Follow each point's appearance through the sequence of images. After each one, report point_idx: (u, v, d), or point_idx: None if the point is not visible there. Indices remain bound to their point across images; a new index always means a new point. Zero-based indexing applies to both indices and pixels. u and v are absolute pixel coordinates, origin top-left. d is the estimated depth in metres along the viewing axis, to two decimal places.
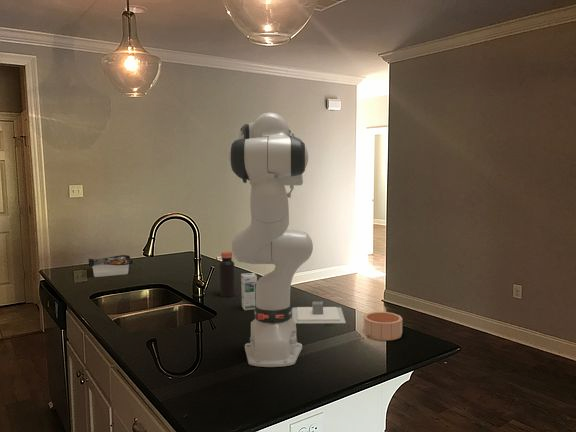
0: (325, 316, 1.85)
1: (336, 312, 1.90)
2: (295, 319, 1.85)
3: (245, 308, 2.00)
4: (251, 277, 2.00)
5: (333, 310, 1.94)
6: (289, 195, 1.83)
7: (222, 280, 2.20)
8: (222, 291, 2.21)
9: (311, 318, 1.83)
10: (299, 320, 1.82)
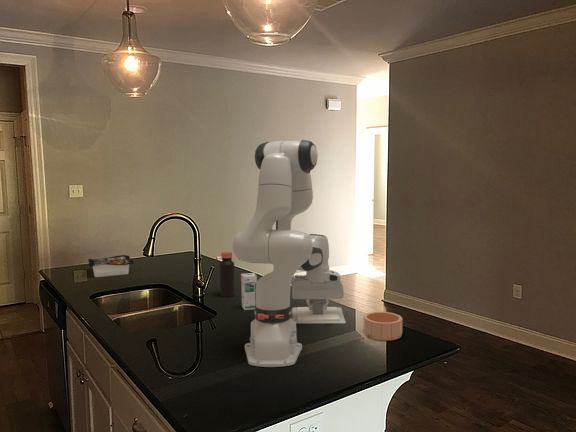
0: (325, 316, 1.85)
1: (336, 312, 1.90)
2: (295, 319, 1.85)
3: (245, 308, 2.00)
4: (251, 277, 2.00)
5: (333, 310, 1.94)
6: (325, 308, 1.89)
7: (222, 280, 2.20)
8: (222, 291, 2.21)
9: (311, 318, 1.83)
10: (299, 320, 1.82)
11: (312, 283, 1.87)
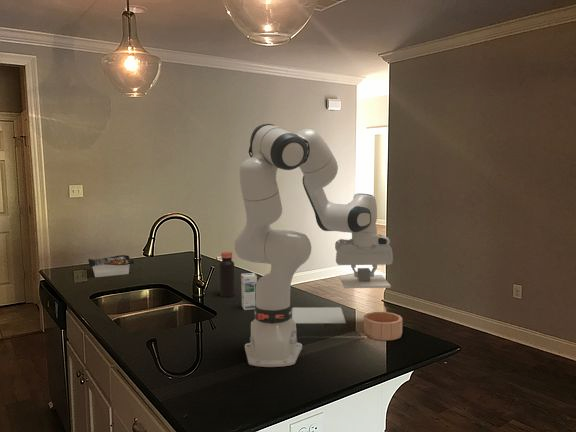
0: (373, 283, 1.70)
1: (383, 279, 1.75)
2: (295, 319, 1.85)
3: (245, 308, 2.00)
4: (251, 277, 2.00)
5: (379, 277, 1.79)
6: (372, 275, 1.74)
7: (222, 280, 2.20)
8: (222, 291, 2.21)
9: (359, 285, 1.68)
10: (346, 287, 1.67)
11: (359, 247, 1.71)
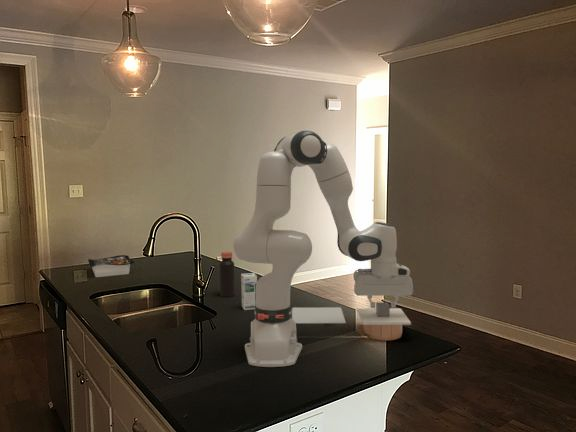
0: (393, 319, 1.66)
1: (403, 314, 1.71)
2: (295, 319, 1.85)
3: (245, 308, 2.00)
4: (251, 277, 2.00)
5: (399, 311, 1.74)
6: (394, 305, 1.69)
7: (222, 280, 2.20)
8: (222, 291, 2.21)
9: (378, 321, 1.64)
10: (365, 323, 1.63)
11: (378, 278, 1.67)
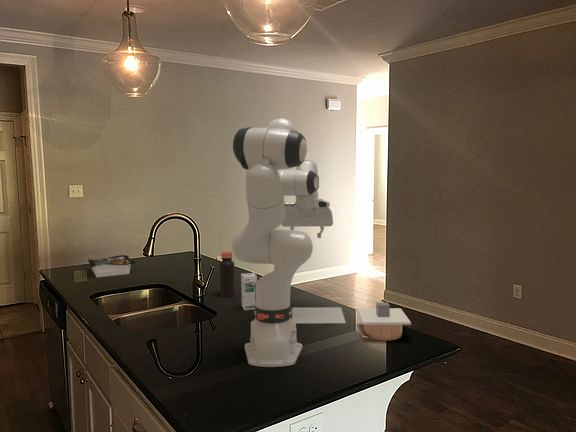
0: (393, 319, 1.66)
1: (403, 314, 1.71)
2: (295, 319, 1.85)
3: (245, 308, 2.00)
4: (251, 277, 2.00)
5: (399, 311, 1.74)
6: (319, 235, 1.89)
7: (222, 280, 2.20)
8: (222, 291, 2.21)
9: (378, 321, 1.64)
10: (365, 323, 1.63)
11: (301, 210, 1.87)
